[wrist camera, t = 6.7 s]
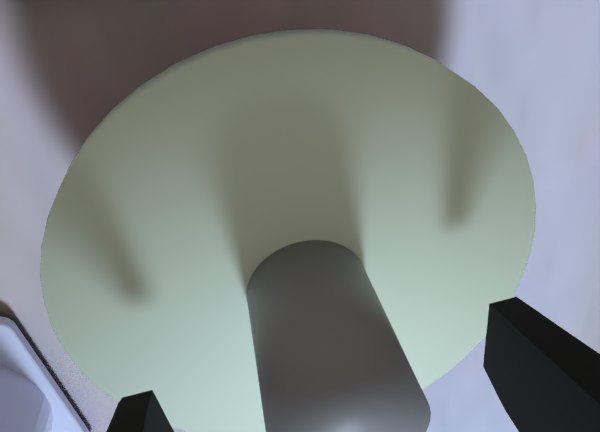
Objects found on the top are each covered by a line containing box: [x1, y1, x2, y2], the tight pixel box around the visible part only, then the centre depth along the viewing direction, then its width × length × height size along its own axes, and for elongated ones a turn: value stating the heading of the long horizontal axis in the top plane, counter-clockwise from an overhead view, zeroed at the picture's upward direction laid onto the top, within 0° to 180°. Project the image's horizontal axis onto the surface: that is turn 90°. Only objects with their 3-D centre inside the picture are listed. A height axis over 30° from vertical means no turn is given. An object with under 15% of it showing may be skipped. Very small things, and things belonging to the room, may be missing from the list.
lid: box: [40, 29, 536, 432], centre depth 11 cm, size 12×12×5 cm
